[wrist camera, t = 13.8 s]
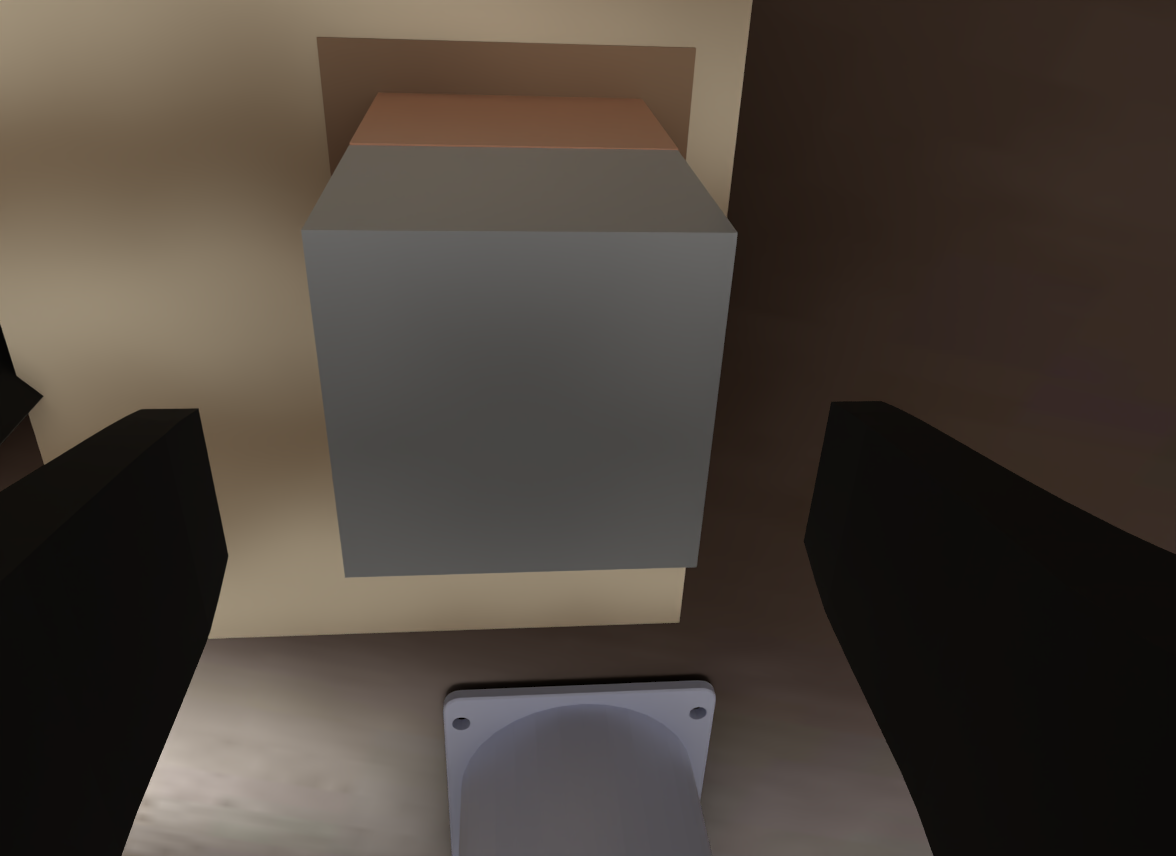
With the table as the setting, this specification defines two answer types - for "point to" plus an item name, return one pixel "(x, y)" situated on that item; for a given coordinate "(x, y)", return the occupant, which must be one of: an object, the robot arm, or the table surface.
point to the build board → (286, 246)
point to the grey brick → (518, 356)
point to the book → (13, 394)
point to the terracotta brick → (510, 122)
